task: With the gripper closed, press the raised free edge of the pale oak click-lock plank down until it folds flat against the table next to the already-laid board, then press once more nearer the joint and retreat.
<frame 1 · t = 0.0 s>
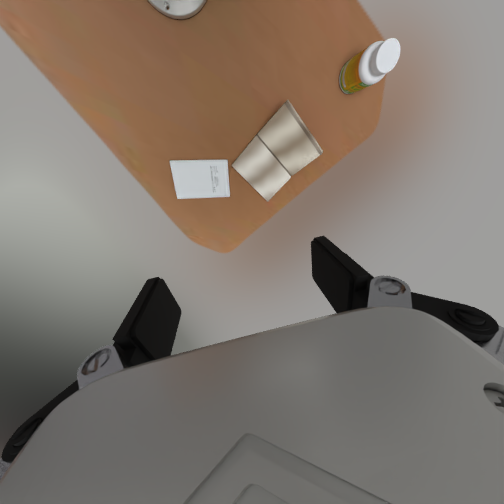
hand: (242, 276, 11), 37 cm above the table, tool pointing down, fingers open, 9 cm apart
laid board: (261, 171, 43), on the table
plank: (290, 142, 39), point 3 cm above the table, hinge at 32.0°
supplement bottle: (350, 77, 37), on the table
external hard drive: (202, 179, 43), on the table
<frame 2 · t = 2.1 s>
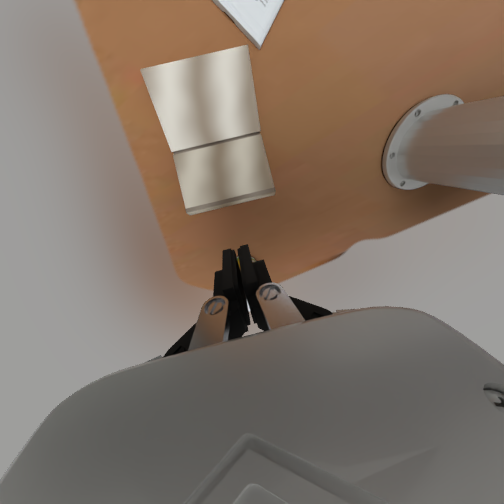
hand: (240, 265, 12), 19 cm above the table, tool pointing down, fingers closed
laid board: (207, 105, 23), on the table
plank: (224, 175, 24), point 3 cm above the table, hinge at 32.0°
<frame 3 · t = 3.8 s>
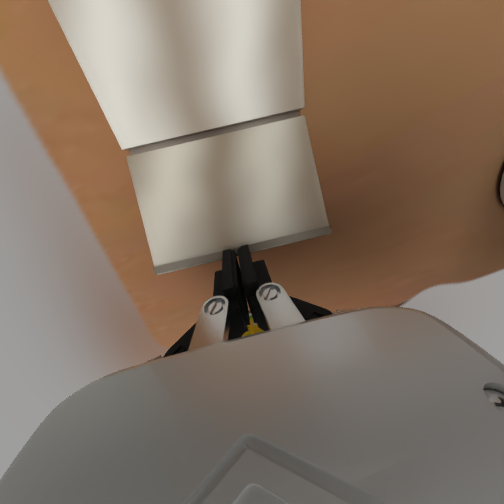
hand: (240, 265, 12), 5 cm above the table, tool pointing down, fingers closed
laid board: (194, 49, 11), on the table
plank: (230, 197, 12), point 3 cm above the table, hinge at 28.4°, touching gripper
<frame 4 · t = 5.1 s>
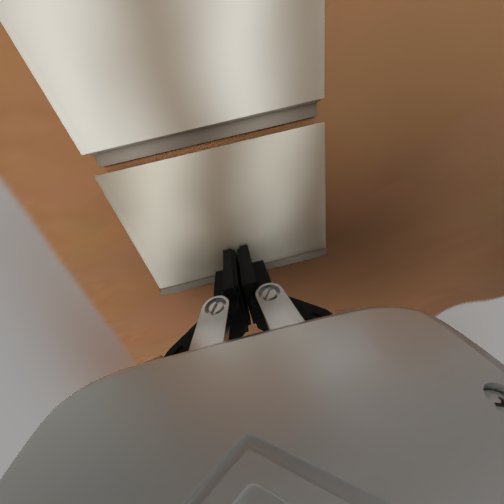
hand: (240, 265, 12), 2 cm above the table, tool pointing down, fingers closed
laid board: (175, 17, 8), on the table
plank: (230, 219, 12), point 1 cm above the table, hinge at 2.0°, touching gripper
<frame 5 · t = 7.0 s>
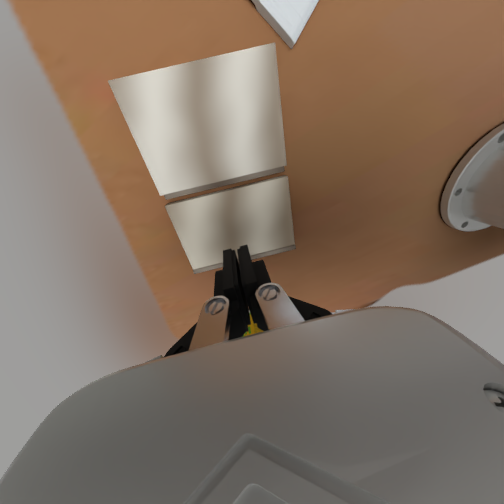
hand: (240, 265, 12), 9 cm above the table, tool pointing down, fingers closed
laid board: (211, 130, 16), on the table
plank: (236, 227, 19), point 1 cm above the table, hinge at 1.7°
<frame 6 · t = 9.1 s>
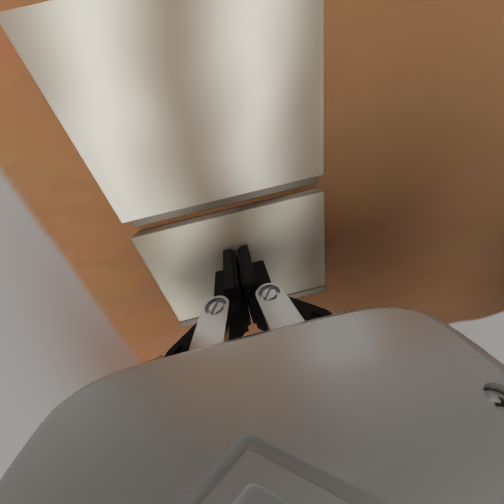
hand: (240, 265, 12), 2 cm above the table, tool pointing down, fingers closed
laid board: (202, 117, 9), on the table
plank: (242, 264, 13), point 1 cm above the table, hinge at 1.7°
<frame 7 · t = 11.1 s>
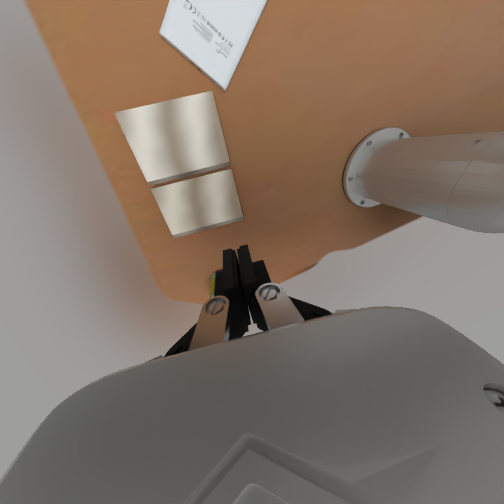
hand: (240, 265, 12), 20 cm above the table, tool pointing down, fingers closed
laid board: (179, 140, 25), on the table
plank: (201, 204, 29), point 1 cm above the table, hinge at 1.7°
external hard drive: (219, 8, 20), on the table
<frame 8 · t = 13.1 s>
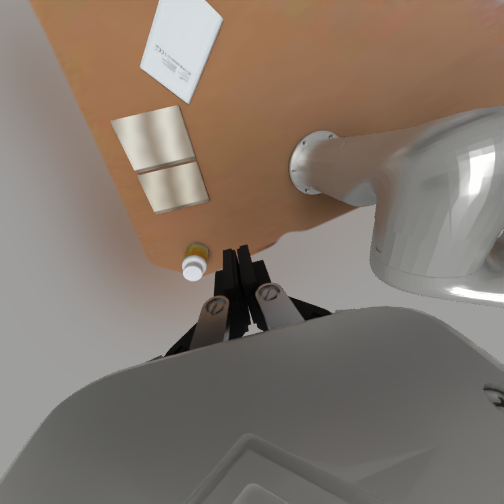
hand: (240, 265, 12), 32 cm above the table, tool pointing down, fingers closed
laid board: (157, 140, 34), on the table
plank: (175, 188, 38), point 1 cm above the table, hinge at 1.7°
supplement bottle: (198, 251, 47), on the table
external hard drive: (182, 48, 29), on the table
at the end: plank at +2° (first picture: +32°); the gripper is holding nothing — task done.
